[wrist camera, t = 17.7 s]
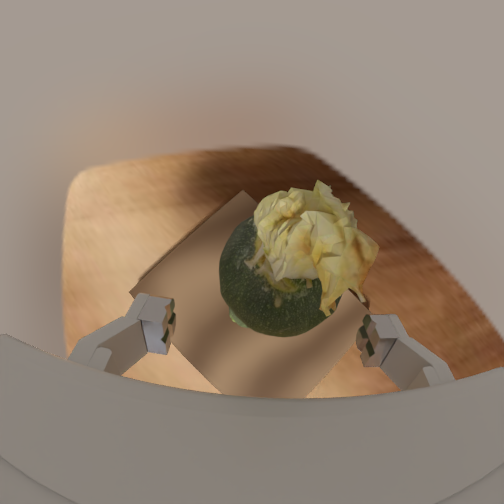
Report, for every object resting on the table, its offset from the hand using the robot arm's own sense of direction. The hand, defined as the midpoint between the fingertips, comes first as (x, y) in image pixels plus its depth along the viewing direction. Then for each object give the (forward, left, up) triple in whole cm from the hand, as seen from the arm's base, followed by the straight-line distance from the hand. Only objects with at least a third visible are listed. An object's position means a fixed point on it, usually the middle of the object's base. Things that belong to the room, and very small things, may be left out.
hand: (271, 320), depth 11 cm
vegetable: (+1, -1, -12) cm, 12 cm away
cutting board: (+1, -1, -13) cm, 13 cm away
